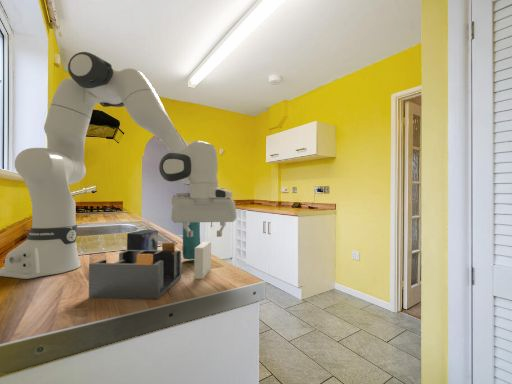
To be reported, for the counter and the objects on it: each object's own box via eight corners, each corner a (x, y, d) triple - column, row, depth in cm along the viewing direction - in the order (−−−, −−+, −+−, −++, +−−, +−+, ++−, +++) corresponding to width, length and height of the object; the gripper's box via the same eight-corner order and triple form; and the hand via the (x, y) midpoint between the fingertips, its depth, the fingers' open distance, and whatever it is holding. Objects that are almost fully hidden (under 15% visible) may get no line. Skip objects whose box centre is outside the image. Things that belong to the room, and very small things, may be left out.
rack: (88, 297, 58) (89, 254, 59) (125, 276, 73) (125, 241, 74) (158, 299, 58) (158, 255, 58) (180, 277, 73) (181, 242, 73)
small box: (141, 262, 88) (141, 233, 88) (125, 261, 90) (125, 233, 90) (158, 255, 99) (158, 229, 99) (144, 254, 100) (144, 229, 100)
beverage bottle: (204, 260, 92) (204, 207, 92) (192, 264, 86) (192, 207, 86) (190, 258, 95) (190, 206, 95) (178, 262, 89) (178, 207, 89)
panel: (194, 278, 72) (194, 248, 72) (203, 268, 82) (203, 241, 82) (202, 278, 72) (203, 248, 72) (211, 268, 82) (211, 241, 82)
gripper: (167, 193, 74) (168, 238, 74) (234, 192, 73) (235, 238, 73) (175, 193, 81) (176, 235, 81) (236, 192, 80) (237, 234, 80)
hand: (204, 236), depth 77 cm, fingers open, 8 cm apart
